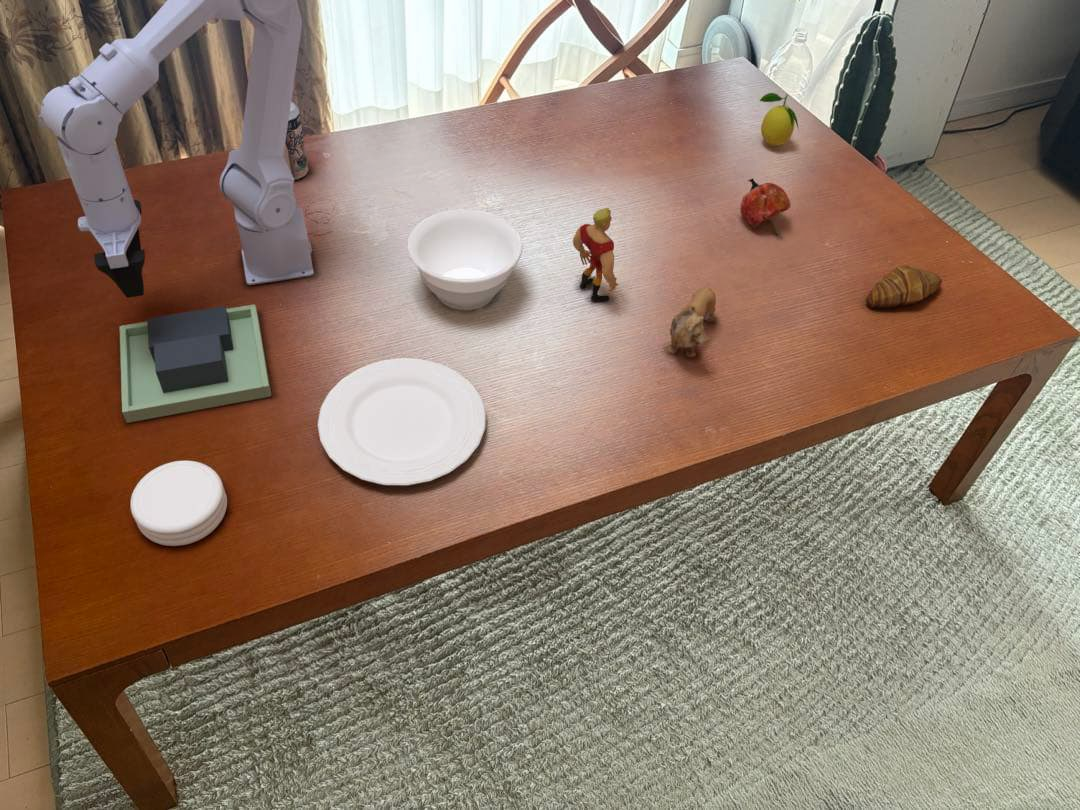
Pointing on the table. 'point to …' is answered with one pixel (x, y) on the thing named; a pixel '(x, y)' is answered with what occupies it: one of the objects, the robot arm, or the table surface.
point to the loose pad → (190, 363)
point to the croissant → (903, 287)
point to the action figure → (597, 253)
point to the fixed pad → (190, 327)
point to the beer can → (295, 145)
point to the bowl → (464, 255)
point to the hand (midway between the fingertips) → (133, 275)
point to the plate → (401, 422)
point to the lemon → (777, 121)
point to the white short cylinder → (179, 503)
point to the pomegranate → (763, 203)
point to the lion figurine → (692, 322)
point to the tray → (150, 401)
